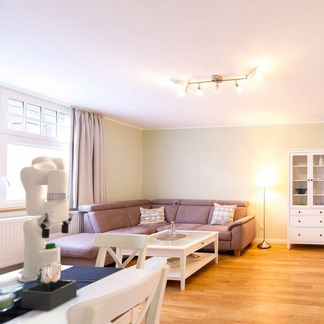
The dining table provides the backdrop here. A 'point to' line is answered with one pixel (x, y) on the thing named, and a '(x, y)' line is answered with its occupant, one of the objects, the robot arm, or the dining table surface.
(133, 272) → the dining table surface
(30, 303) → the bin
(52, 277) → the beer glass
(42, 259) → the milk carton
